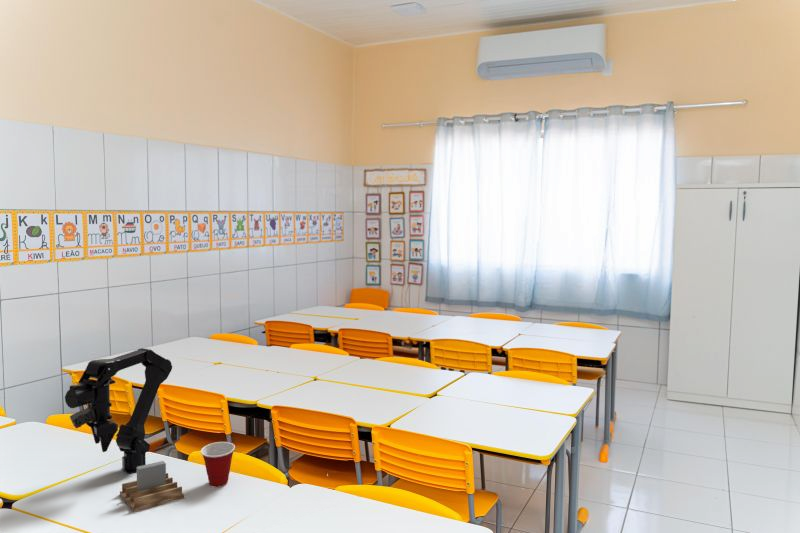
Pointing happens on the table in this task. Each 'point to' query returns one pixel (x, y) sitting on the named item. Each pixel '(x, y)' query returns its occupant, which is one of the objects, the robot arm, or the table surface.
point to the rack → (150, 494)
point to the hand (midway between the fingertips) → (100, 447)
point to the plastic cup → (218, 462)
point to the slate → (151, 475)
